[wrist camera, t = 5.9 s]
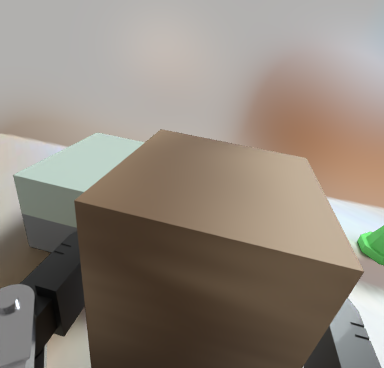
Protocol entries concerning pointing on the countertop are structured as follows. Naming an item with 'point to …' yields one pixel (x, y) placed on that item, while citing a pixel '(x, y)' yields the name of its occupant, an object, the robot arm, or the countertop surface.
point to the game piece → (373, 245)
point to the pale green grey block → (65, 186)
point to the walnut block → (210, 258)
